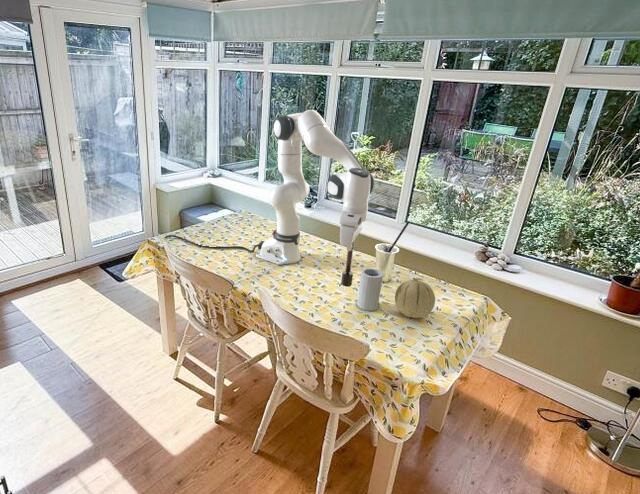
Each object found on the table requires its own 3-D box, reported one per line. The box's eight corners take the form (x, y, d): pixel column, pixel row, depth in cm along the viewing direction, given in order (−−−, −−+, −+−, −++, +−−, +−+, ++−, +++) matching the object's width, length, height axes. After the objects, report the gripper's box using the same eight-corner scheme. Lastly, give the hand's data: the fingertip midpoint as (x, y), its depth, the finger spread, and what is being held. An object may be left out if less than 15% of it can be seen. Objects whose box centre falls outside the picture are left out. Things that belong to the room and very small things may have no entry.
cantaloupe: (410, 329, 152) (417, 294, 146) (384, 309, 165) (389, 276, 159) (440, 320, 158) (448, 286, 152) (412, 301, 170) (418, 269, 164)
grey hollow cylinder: (355, 307, 166) (359, 274, 160) (359, 298, 172) (363, 266, 167) (375, 312, 162) (380, 279, 156) (379, 302, 169) (384, 270, 163)
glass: (398, 286, 182) (409, 223, 170) (371, 283, 184) (381, 220, 172) (395, 274, 192) (405, 214, 180) (370, 272, 194) (378, 212, 182)
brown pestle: (340, 285, 158) (345, 237, 151) (342, 280, 162) (347, 233, 154) (350, 287, 157) (356, 239, 149) (352, 283, 160) (358, 235, 152)
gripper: (352, 204, 158) (348, 237, 163) (338, 221, 141) (334, 257, 146) (369, 207, 156) (364, 240, 161) (356, 224, 139) (352, 260, 144)
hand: (350, 248), depth 154 cm, fingers closed on brown pestle, 2 cm apart
